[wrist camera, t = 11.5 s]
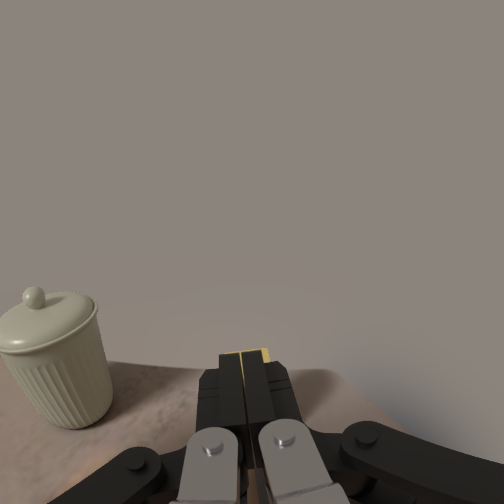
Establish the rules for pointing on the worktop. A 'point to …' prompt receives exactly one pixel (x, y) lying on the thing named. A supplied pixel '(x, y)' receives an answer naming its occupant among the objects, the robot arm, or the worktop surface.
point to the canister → (58, 356)
